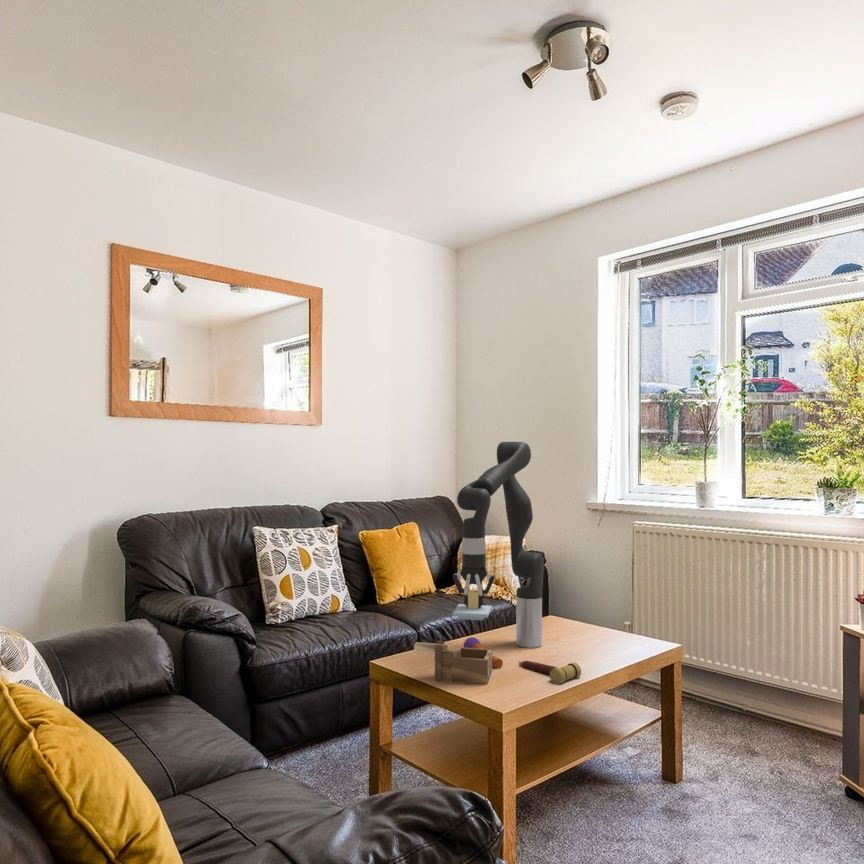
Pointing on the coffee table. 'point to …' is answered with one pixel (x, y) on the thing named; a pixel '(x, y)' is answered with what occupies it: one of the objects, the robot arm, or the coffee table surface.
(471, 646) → the kendama
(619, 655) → the coffee table surface
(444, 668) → the toolbox
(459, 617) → the lid
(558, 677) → the gavel
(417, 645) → the beige wooden bar
